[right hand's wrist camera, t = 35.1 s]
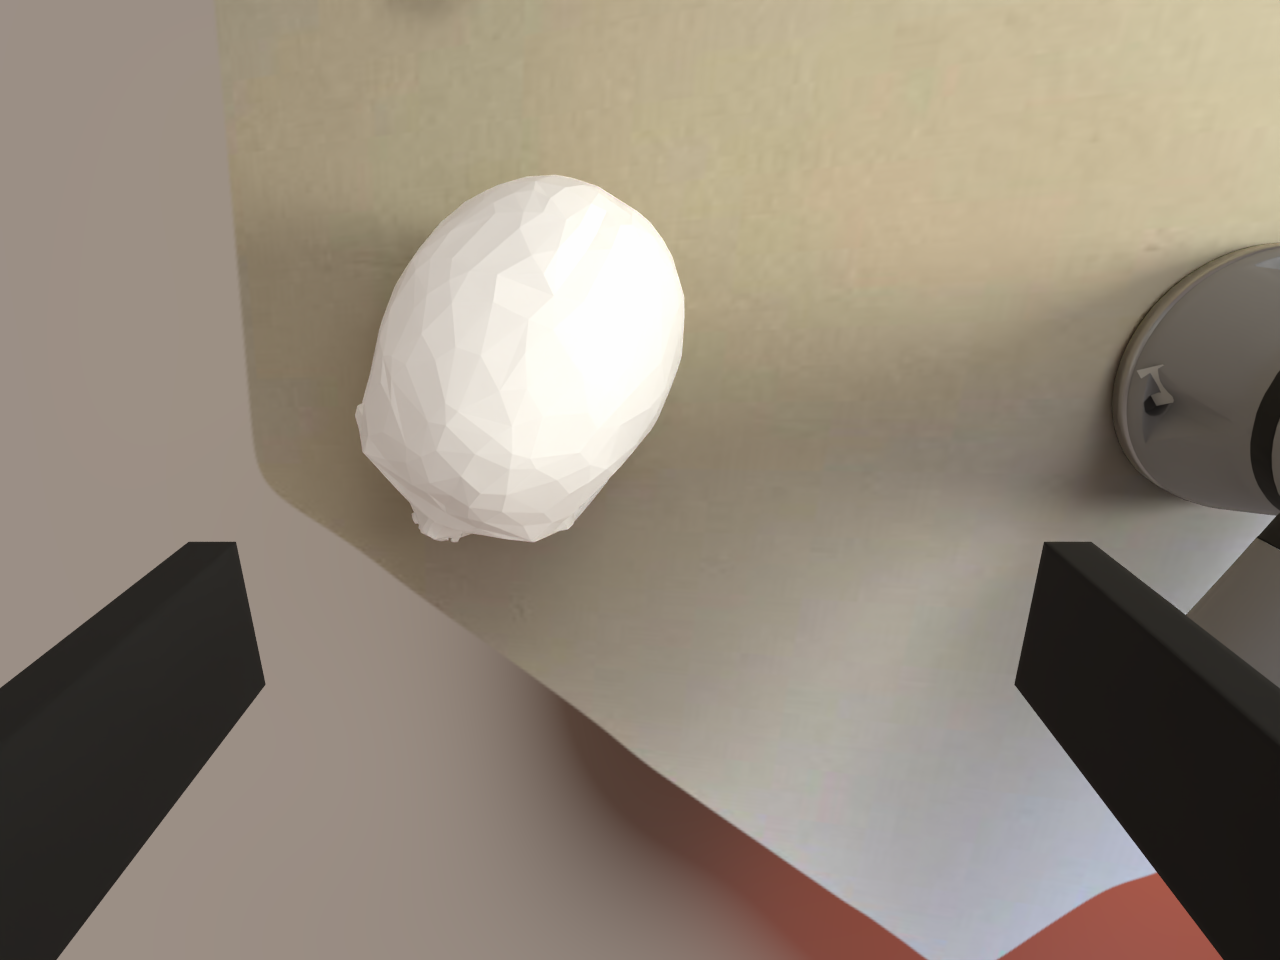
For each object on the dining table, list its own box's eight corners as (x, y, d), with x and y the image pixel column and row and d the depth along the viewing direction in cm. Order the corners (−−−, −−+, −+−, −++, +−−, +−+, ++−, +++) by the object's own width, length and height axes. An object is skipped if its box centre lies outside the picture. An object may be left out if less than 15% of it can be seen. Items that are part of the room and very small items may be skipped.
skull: (353, 478, 47) (234, 615, 32) (493, 130, 40) (423, 102, 25) (550, 562, 50) (523, 725, 35) (714, 249, 43) (767, 286, 28)
